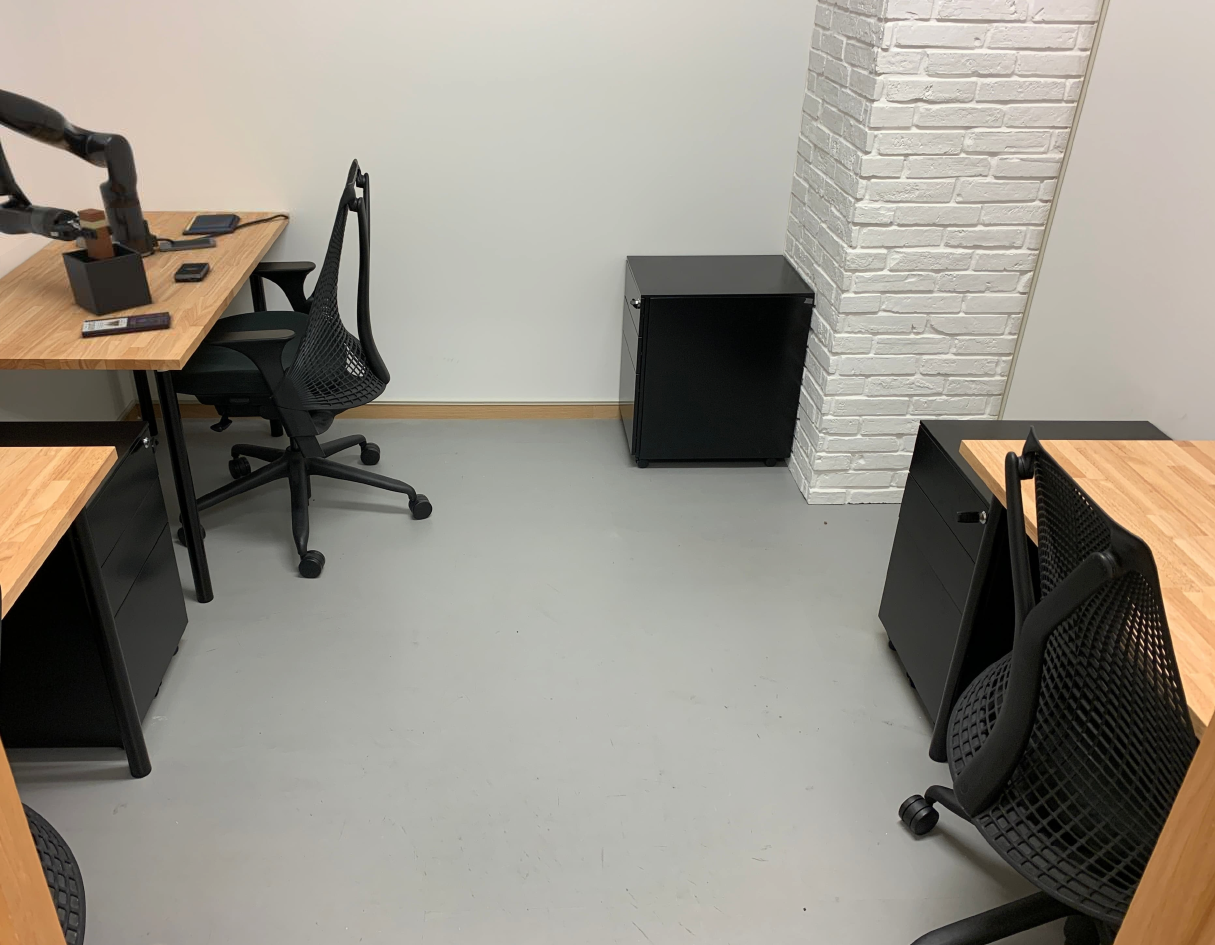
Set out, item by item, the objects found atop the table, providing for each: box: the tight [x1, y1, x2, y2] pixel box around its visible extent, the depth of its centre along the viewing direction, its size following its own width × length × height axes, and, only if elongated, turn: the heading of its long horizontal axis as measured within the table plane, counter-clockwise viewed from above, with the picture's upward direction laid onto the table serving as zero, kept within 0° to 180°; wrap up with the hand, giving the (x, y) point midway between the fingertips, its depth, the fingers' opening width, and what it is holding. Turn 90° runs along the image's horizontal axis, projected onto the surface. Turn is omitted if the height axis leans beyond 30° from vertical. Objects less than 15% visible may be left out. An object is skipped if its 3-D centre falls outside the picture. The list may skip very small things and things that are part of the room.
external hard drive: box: [173, 262, 211, 283], centre depth 248 cm, size 7×11×2 cm, turn 9°
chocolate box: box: [76, 208, 115, 260], centre depth 221 cm, size 5×4×11 cm
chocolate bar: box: [81, 311, 170, 339], centre depth 214 cm, size 9×1×18 cm
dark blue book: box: [182, 213, 240, 236], centre depth 293 cm, size 20×2×15 cm
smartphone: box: [159, 237, 216, 252], centre depth 274 cm, size 15×8×1 cm, turn 113°
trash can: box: [61, 243, 154, 317], centre depth 226 cm, size 13×13×13 cm
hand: (103, 232), depth 219 cm, fingers closed on chocolate box, 3 cm apart
